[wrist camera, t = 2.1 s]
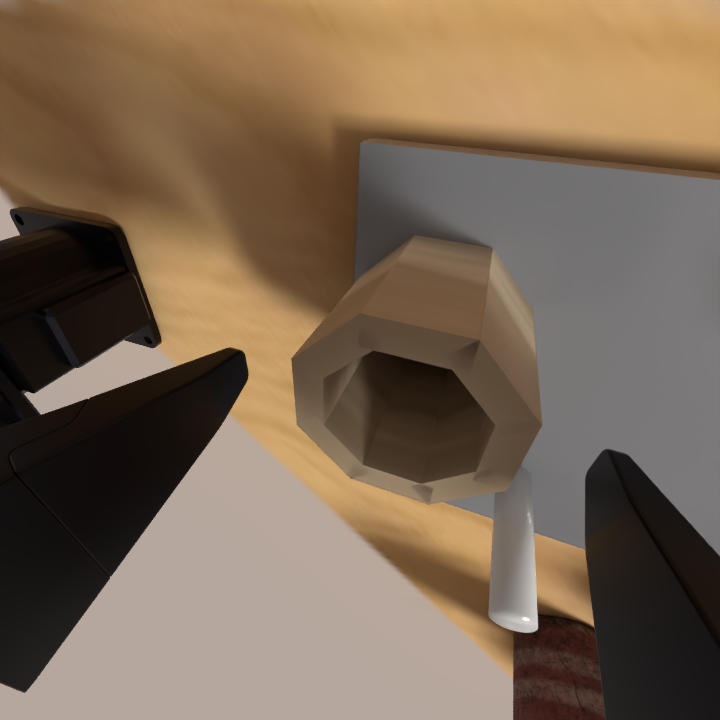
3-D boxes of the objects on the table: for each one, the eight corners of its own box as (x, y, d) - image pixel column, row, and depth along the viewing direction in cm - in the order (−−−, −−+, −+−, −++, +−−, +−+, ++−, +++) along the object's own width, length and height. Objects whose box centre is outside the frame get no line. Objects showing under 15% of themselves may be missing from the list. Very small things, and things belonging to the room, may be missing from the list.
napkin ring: (355, 364, 14) (299, 461, 11) (363, 226, 11) (285, 296, 7) (496, 401, 13) (488, 525, 9) (553, 257, 10) (577, 361, 6)
